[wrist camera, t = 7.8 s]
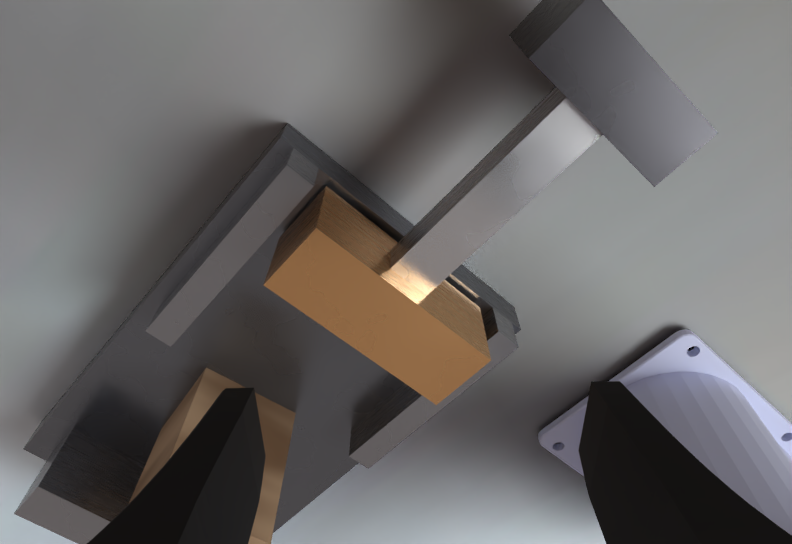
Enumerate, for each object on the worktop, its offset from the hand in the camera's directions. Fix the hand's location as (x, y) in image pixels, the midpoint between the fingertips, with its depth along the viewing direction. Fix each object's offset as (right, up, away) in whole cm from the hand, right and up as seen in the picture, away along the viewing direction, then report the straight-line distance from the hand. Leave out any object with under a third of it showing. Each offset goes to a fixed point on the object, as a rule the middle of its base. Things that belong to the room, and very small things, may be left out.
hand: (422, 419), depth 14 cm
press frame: (-6, -1, +13) cm, 14 cm away
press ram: (+2, +6, +6) cm, 9 cm away
